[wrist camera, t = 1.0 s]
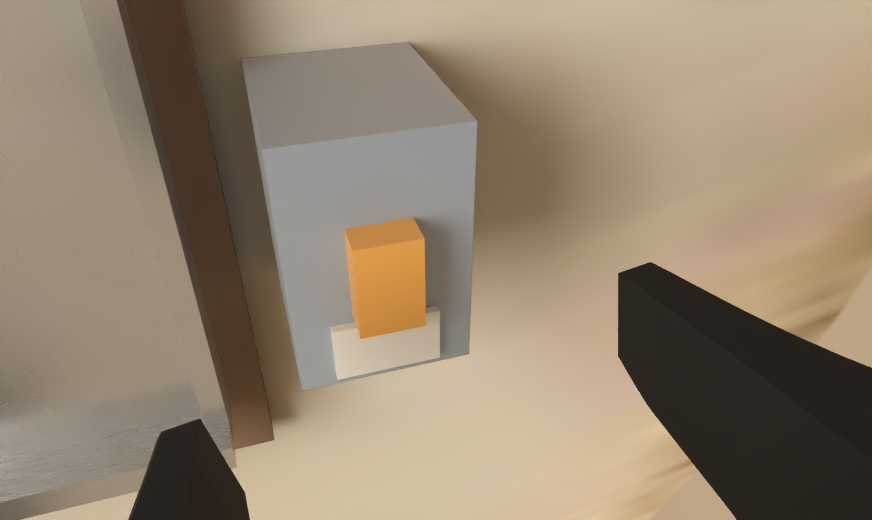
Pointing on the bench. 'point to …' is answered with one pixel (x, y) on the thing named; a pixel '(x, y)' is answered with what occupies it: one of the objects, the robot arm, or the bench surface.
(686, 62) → the bench surface
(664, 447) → the bench surface
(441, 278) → the block
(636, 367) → the robot arm
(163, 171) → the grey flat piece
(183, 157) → the board
